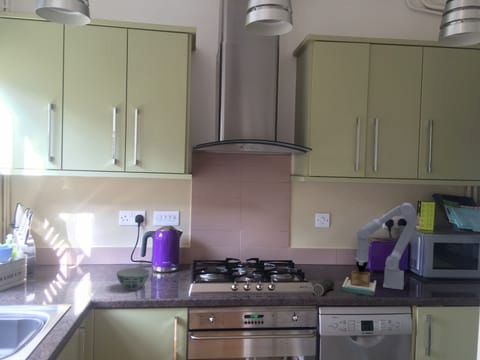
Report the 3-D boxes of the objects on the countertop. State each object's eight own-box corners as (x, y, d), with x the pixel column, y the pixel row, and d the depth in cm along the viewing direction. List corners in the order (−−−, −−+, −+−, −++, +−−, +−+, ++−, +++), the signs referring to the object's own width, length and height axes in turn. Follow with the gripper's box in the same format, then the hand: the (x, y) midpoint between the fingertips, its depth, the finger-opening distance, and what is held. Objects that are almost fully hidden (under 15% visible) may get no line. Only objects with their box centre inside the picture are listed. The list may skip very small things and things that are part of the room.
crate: (369, 283, 202) (370, 272, 201) (368, 286, 195) (369, 276, 195) (351, 280, 205) (352, 270, 205) (350, 284, 198) (350, 273, 198)
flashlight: (325, 287, 196) (325, 276, 196) (335, 289, 193) (335, 278, 193) (312, 294, 184) (312, 283, 183) (323, 296, 180) (323, 285, 180)
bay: (376, 284, 203) (376, 280, 203) (373, 295, 184) (374, 291, 184) (346, 280, 208) (346, 276, 208) (341, 291, 190) (341, 286, 190)
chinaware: (139, 294, 175) (140, 277, 175) (110, 291, 179) (110, 274, 179) (154, 285, 190) (154, 269, 190) (126, 282, 193) (127, 266, 193)
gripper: (356, 247, 214) (355, 271, 214) (353, 252, 200) (352, 278, 201) (369, 248, 211) (368, 273, 211) (367, 253, 198) (366, 280, 198)
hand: (361, 275), depth 206 cm, fingers closed
